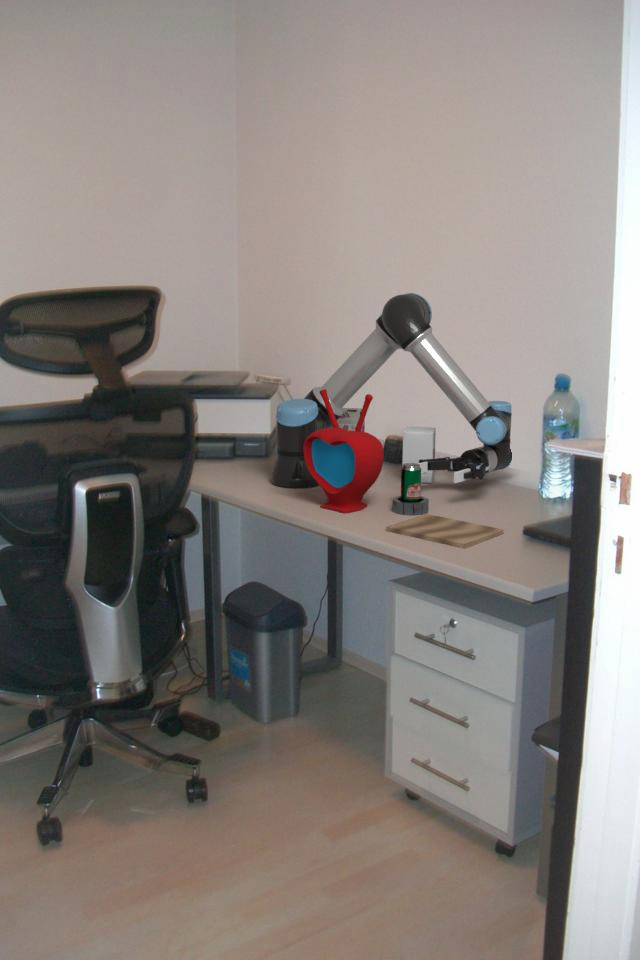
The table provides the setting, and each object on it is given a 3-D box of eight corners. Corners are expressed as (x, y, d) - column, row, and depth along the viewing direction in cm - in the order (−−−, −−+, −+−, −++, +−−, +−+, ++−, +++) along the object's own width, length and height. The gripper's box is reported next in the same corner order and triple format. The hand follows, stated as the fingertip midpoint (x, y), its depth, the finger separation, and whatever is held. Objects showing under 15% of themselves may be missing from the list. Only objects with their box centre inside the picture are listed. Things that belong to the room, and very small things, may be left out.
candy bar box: (365, 458, 309) (365, 408, 306) (361, 461, 305) (361, 410, 301) (332, 456, 312) (332, 406, 309) (327, 459, 308) (327, 409, 304)
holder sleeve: (385, 511, 242) (385, 499, 241) (406, 504, 248) (406, 493, 248) (414, 517, 236) (414, 505, 235) (435, 510, 242) (435, 498, 242)
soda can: (407, 514, 239) (408, 467, 236) (396, 509, 243) (397, 463, 241) (424, 511, 241) (425, 465, 238) (413, 507, 245) (414, 461, 243)
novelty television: (299, 504, 249) (298, 390, 242) (333, 496, 258) (333, 385, 251) (358, 518, 234) (359, 397, 228) (392, 509, 243) (393, 392, 237)
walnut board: (386, 530, 224) (386, 526, 224) (425, 517, 235) (426, 513, 235) (465, 548, 209) (465, 544, 209) (503, 533, 221) (503, 529, 221)
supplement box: (432, 483, 272) (433, 432, 269) (401, 482, 274) (402, 431, 271) (435, 477, 281) (436, 427, 278) (405, 475, 283) (405, 426, 280)
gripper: (516, 481, 255) (473, 495, 240) (439, 468, 272) (394, 481, 256) (517, 454, 254) (474, 466, 238) (440, 443, 270) (395, 453, 255)
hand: (433, 474), depth 247 cm, fingers open, 13 cm apart
